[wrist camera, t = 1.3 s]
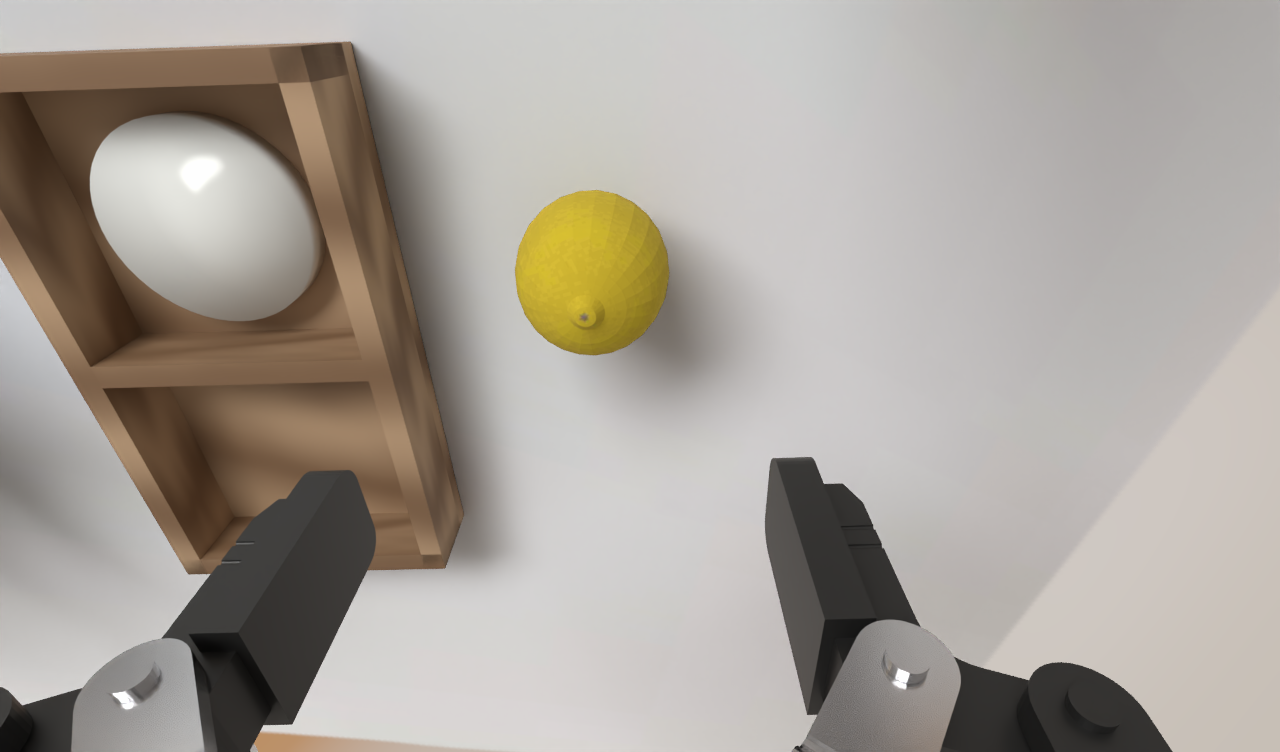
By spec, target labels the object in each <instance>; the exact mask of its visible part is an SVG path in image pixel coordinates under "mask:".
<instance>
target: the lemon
mask: <svg viewBox="0 0 1280 752" xmlns="http://www.w3.org/2000/svg"><path fill="white" fill-rule="evenodd" d="M515 276H516V285H517V293H518V297H519V300H520V302H521V305H522V308H523V310H524V313H525V315H526V317H527V318H528V320H529V321H530V322H531V324H532V325H533V327H534V328H535V330H536V331H537V332H538V333H539V334H541V335H542V336H543V337H544V338H545V339H546V340H547V341H549V342H550V343H552V344H554V345H556V346H557V347H559V348H561V349H563V350H566V351H570V352H573V353H576V354H583V355H600V354H606V353H612V352H614V351H617V350H619V349H621V348H624V347H626V346H628V345H629V344H631V343H632V342H633V341H635V340H636V339H638V338H639V337H640V336H642V335H643V333H644V332H645V331H646V330H647V328H648V327H649V326H650V325H651V324H652V322H653V321H654V320H655V318H656V317H657V314H658V312H659V310H660V308H661V306H662V304H663V302H664V299H665V296H666V291H667V285H668V279H669V266H668V256H667V250H666V248H665V245H664V242H663V240H662V237H661V234H660V232H659V230H658V229H657V227H656V226H655V224H654V223H653V222H652V220H651V219H650V217H649V216H648V215H647V214H646V213H645V212H644V211H643V210H642V209H640V208H639V207H638V206H637V205H636V204H634V203H633V202H632V201H630V200H627V199H625V198H623V197H621V196H619V195H617V194H614V193H609V192H604V191H599V190H592V191H578V192H575V193H572V194H569V195H566V196H563V197H561V198H559V199H557V200H556V201H554V202H553V203H551V204H550V205H548V206H547V207H545V208H544V209H543V210H542V211H541V212H540V213H539V214H538V215H537V216H536V218H535V219H534V220H533V221H532V222H531V223H530V225H529V226H528V228H527V230H526V232H525V235H524V237H523V239H522V241H521V243H520V245H519V249H518V255H517V261H516V267H515Z"/></svg>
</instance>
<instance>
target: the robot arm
mask: <svg viewBox="0 0 1280 752" xmlns="http://www.w3.org/2000/svg"><path fill="white" fill-rule="evenodd" d="M765 534H766V543H767V549H768V554H769V558H770V562H771V566H772V570H773V575H774V579H775V583H776V587H777V591H778V595H779V599H780V604H781V608H782V612H783V616H784V620H785V624H786V628H787V633H788V637H789V641H790V645H791V649H792V653H793V657H794V662H795V666H796V670H797V674H798V678H799V682H800V686H801V691H802V695H803V699H804V703H805V707H806V711H807V715H817V717H816V719H815V721H814V723H813V725H812V727H811V729H810V731H809V733H808V735H807V737H806V739H805V740H804V742H803V744H802V745H801V746H800V747H799V746H796V747H795V748H794V749H793V750H792V752H1172V750H1171V749H1170V747H1169V746H1168V744H1167V743H1166V741H1165V740H1164V738H1163V737H1162V735H1161V734H1160V732H1159V731H1158V729H1157V728H1156V726H1155V725H1154V723H1153V722H1152V720H1151V719H1150V717H1149V716H1148V714H1147V713H1146V712H1145V710H1144V709H1143V708H1142V706H1141V705H1140V704H1139V703H1138V702H1137V701H1136V700H1135V699H1134V697H1132V696H1131V695H1130V694H1129V693H1128V692H1127V691H1126V690H1125V689H1124V688H1122V687H1121V686H1119V685H1118V684H1117V683H1115V682H1114V681H1113V680H1111V679H1109V678H1107V677H1106V676H1104V675H1102V674H1100V673H1098V672H1096V671H1094V670H1092V669H1089V668H1086V667H1083V666H1080V665H1075V664H1071V663H1062V662H1061V663H1050V664H1046V665H1043V666H1042V667H1039V668H1038V669H1037V670H1036V671H1035V672H1034V673H1033V674H1032V676H1031V678H1030V680H1025V679H1022V678H1018V677H1014V676H1010V675H1006V674H1002V673H999V672H995V671H991V670H987V669H984V668H980V667H977V666H974V665H971V664H968V663H966V662H964V661H961V660H959V659H957V658H956V657H954V656H953V655H952V653H951V652H950V651H949V649H948V648H947V647H946V646H945V645H944V644H943V643H942V642H941V641H940V640H939V639H938V638H937V637H935V636H934V635H933V634H931V633H930V632H928V631H927V630H925V629H923V628H921V627H920V625H919V623H918V621H917V619H916V617H915V615H914V613H913V611H912V609H911V607H910V604H909V602H908V600H907V598H906V596H905V593H904V591H903V589H902V587H901V585H900V583H899V580H898V578H897V576H896V574H895V572H894V570H893V567H892V565H891V563H890V561H889V559H888V556H887V554H886V552H885V550H884V548H883V549H882V543H881V541H880V539H879V537H878V535H877V533H876V530H874V529H873V524H872V522H871V519H870V517H869V515H868V513H867V511H866V509H865V506H864V504H863V502H862V501H861V500H859V499H858V498H857V497H856V496H855V495H854V494H853V493H852V492H851V491H850V490H849V489H848V488H847V487H846V486H845V485H844V484H824V483H823V481H822V478H821V476H820V473H819V471H818V468H817V465H816V463H815V461H814V459H813V458H812V457H799V458H773V459H772V460H771V464H770V471H769V482H768V493H767V503H766V514H765ZM375 547H376V531H375V527H374V524H373V521H372V518H371V515H370V513H369V510H368V507H367V504H366V501H365V499H364V496H363V493H362V490H361V488H360V485H359V482H358V479H357V477H356V475H355V474H354V473H353V472H352V471H351V470H330V471H309V472H307V473H305V474H304V475H303V476H302V478H301V479H300V480H299V482H298V483H297V484H296V486H295V487H294V489H293V490H292V491H291V493H290V494H289V495H288V497H287V498H286V499H278V500H277V501H275V502H274V503H273V504H272V505H270V506H269V507H268V508H266V509H265V510H264V511H263V512H261V513H260V514H259V515H257V516H256V517H255V518H253V519H252V521H251V522H250V523H249V525H248V526H247V527H246V529H245V530H244V531H243V533H242V534H241V535H240V537H239V538H238V539H237V540H236V545H235V546H232V547H231V548H230V550H229V551H228V552H227V554H226V555H225V556H224V557H223V559H222V560H221V561H222V563H221V565H217V567H216V568H215V569H214V571H213V572H212V573H211V575H210V576H209V577H208V578H207V580H206V581H205V582H204V584H203V585H202V586H201V588H200V589H199V590H198V592H197V593H196V594H195V596H194V597H193V598H192V599H191V601H190V602H189V603H188V605H187V606H186V607H185V609H184V610H183V611H182V613H181V614H180V615H179V616H178V618H177V619H176V620H175V622H174V623H173V624H172V626H171V627H170V628H169V630H168V631H167V632H166V634H165V635H164V636H163V637H162V638H161V639H157V640H152V641H149V642H146V643H143V644H140V645H138V646H135V647H133V648H131V649H129V650H127V651H125V652H123V653H122V654H120V655H119V656H117V657H115V658H114V659H112V660H111V661H110V662H108V663H107V664H106V665H104V666H103V667H102V668H101V669H100V670H99V671H97V672H96V673H95V674H94V675H93V676H92V677H91V679H90V680H89V681H88V682H87V683H86V685H85V686H84V687H83V688H81V689H77V690H74V691H71V692H67V693H64V694H60V695H57V696H53V697H50V698H47V699H43V700H40V701H36V702H33V703H30V704H26V705H23V706H22V705H21V704H20V703H19V702H18V701H17V700H16V699H15V697H14V696H13V695H12V694H11V693H10V692H9V691H8V690H6V689H4V688H2V687H0V752H258V750H257V748H256V747H255V745H254V742H255V740H256V738H257V736H258V734H259V732H260V730H261V729H262V727H263V725H289V724H293V722H294V720H295V718H296V716H297V713H298V711H299V709H300V707H301V705H302V703H303V701H304V699H305V697H306V695H307V693H308V691H309V689H310V687H311V685H312V683H313V681H314V679H315V677H316V674H317V672H318V670H319V668H320V666H321V664H322V662H323V660H324V658H325V656H326V654H327V652H328V650H329V648H330V646H331V644H332V642H333V640H334V637H335V635H336V633H337V631H338V629H339V627H340V625H341V623H342V621H343V619H344V617H345V615H346V613H347V611H348V609H349V607H350V605H351V603H352V601H353V598H354V596H355V594H356V592H357V590H358V588H359V586H360V584H361V582H362V580H363V578H364V576H365V574H366V572H367V570H368V568H369V566H370V564H371V561H372V559H373V556H374V552H375Z"/></svg>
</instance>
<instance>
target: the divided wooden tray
mask: <svg viewBox="0 0 1280 752" xmlns="http://www.w3.org/2000/svg"><path fill="white" fill-rule="evenodd" d="M181 110H182V111H198V112H204V113H210V114H213V115H217V116H220V117H224V118H226V119H229V120H231V121H234V122H236V123H238V124H241V125H242V126H244V127H246V128H248V129H250V130H251V131H253V132H255V133H256V134H258V135H259V136H261V137H262V138H264V139H265V140H266V141H268V142H269V143H270V144H272V145H273V146H274V147H275V148H276V149H277V150H279V151H280V152H281V153H282V154H283V155H284V156H285V157H286V158H287V159H288V160H289V161H290V162H291V163H292V165H293V166H294V167H295V168H296V170H297V171H298V172H299V173H300V175H301V176H302V177H303V179H304V180H305V182H306V184H307V185H308V187H309V188H310V190H311V192H312V195H313V198H314V202H315V205H316V208H317V212H318V215H319V218H320V222H321V225H322V228H323V231H324V235H325V239H326V244H325V256H324V261H323V265H322V267H321V270H320V273H319V275H318V276H317V278H316V280H315V281H314V283H313V284H312V285H311V286H310V288H309V289H308V290H307V291H306V292H305V293H303V294H302V295H301V296H300V297H299V298H297V299H296V300H295V301H294V302H293V303H291V304H290V305H289V306H288V307H286V308H285V309H283V310H282V311H280V312H278V313H276V314H274V315H271V316H269V317H266V318H262V319H257V320H251V321H227V320H220V319H215V318H211V317H207V316H203V315H200V314H197V313H194V312H192V311H189V310H187V309H185V308H183V307H180V306H178V305H176V304H174V303H173V302H171V301H169V300H167V299H166V298H164V297H162V296H161V295H159V294H158V293H157V292H155V291H154V290H152V289H151V288H150V287H148V286H147V285H146V284H145V283H144V282H142V281H141V280H140V279H139V278H138V277H137V276H136V275H135V274H134V273H133V272H132V271H131V270H130V269H129V268H128V267H127V266H126V265H125V264H124V263H123V261H122V260H121V259H120V258H119V257H118V255H117V254H116V253H115V251H114V250H113V248H112V247H111V245H110V244H109V242H108V241H107V239H106V237H105V235H104V233H103V232H102V230H101V227H100V225H99V223H98V220H97V218H96V215H95V212H94V208H93V205H92V200H91V193H90V173H91V167H92V162H93V160H94V157H95V154H96V152H97V150H98V148H99V147H100V145H101V143H102V142H103V141H104V139H105V138H106V137H107V136H108V135H109V134H110V133H111V132H112V131H114V130H115V129H116V128H118V127H119V126H121V125H123V124H125V123H127V122H129V121H131V120H134V119H138V118H142V117H145V116H150V115H155V114H160V113H165V112H172V111H181ZM0 258H1V259H2V261H3V263H4V264H5V266H6V268H7V269H8V271H9V273H10V274H11V276H12V278H13V280H14V281H15V283H16V285H17V286H18V288H19V290H20V291H21V293H22V295H23V296H24V298H25V300H26V301H27V303H28V305H29V307H30V308H31V310H32V312H33V313H34V315H35V317H36V318H37V320H38V322H39V323H40V325H41V327H42V328H43V330H44V332H45V334H46V335H47V337H48V339H49V340H50V342H51V344H52V345H53V347H54V349H55V350H56V352H57V354H58V356H59V357H60V359H61V361H62V362H63V364H64V366H65V367H66V369H67V371H68V372H69V374H70V376H71V377H72V379H73V381H74V383H75V384H76V386H77V388H78V389H79V391H80V393H81V394H82V396H83V398H84V399H85V401H86V403H87V404H88V406H89V408H90V410H91V411H92V413H93V415H94V416H95V418H96V420H97V421H98V423H99V425H100V426H101V428H102V430H103V431H104V433H105V435H106V437H107V438H108V440H109V442H110V443H111V445H112V447H113V448H114V450H115V452H116V453H117V455H118V457H119V458H120V460H121V462H122V464H123V465H124V467H125V469H126V470H127V472H128V474H129V475H130V477H131V479H132V480H133V482H134V484H135V485H136V487H137V489H138V491H139V492H140V494H141V496H142V497H143V499H144V501H145V502H146V504H147V506H148V507H149V509H150V511H151V512H152V514H153V516H154V518H155V519H156V521H157V523H158V524H159V526H160V528H161V529H162V531H163V533H164V534H165V536H166V538H167V539H168V541H169V543H170V545H171V546H172V548H173V550H174V551H175V553H176V555H177V556H178V558H179V560H180V561H181V563H182V565H183V566H184V568H185V570H186V572H187V573H188V574H211V573H212V572H213V571H214V569H215V568H216V567H217V565H221V563H222V561H221V560H222V559H223V557H224V556H225V555H226V554H227V552H228V551H229V550H230V548H231V547H232V546H235V545H236V540H237V539H238V538H239V537H240V535H241V534H242V533H243V531H244V530H245V529H246V527H247V526H248V525H249V523H250V522H251V521H252V519H253V518H255V517H256V516H257V515H259V514H260V513H261V512H263V511H264V510H265V509H266V508H268V507H269V506H270V505H272V504H273V503H274V502H275V501H277V500H278V499H286V498H287V497H288V495H289V494H290V493H291V491H292V490H293V489H294V487H295V486H296V484H297V483H298V482H299V480H300V479H301V478H302V476H303V475H304V474H305V473H307V472H309V471H330V470H351V471H352V472H353V473H354V474H355V475H356V477H357V479H358V482H359V485H360V488H361V490H362V493H363V496H364V499H365V501H366V504H367V507H368V510H369V513H370V515H371V518H372V521H373V524H374V527H375V531H376V547H375V552H374V556H373V559H372V561H371V564H370V566H369V568H368V570H399V569H443V568H446V565H447V562H448V559H449V556H450V553H451V550H452V547H453V545H454V542H455V539H456V536H457V533H458V530H459V527H460V525H461V522H462V519H463V516H464V513H463V509H462V505H461V500H460V496H459V492H458V488H457V484H456V480H455V475H454V471H453V467H452V463H451V459H450V455H449V450H448V446H447V442H446V438H445V434H444V429H443V425H442V421H441V417H440V413H439V409H438V404H437V400H436V396H435V392H434V388H433V384H432V379H431V375H430V371H429V367H428V363H427V358H426V354H425V350H424V346H423V342H422V338H421V333H420V329H419V325H418V321H417V317H416V313H415V308H414V304H413V300H412V296H411V292H410V287H409V283H408V279H407V275H406V271H405V267H404V262H403V258H402V254H401V250H400V246H399V242H398V237H397V233H396V229H395V225H394V221H393V216H392V212H391V208H390V204H389V200H388V196H387V191H386V187H385V183H384V179H383V175H382V171H381V166H380V162H379V158H378V154H377V150H376V145H375V141H374V137H373V133H372V129H371V125H370V120H369V116H368V112H367V108H366V104H365V100H364V95H363V91H362V87H361V83H360V79H359V74H358V70H357V66H356V62H355V58H354V54H353V49H352V45H351V42H327V43H297V44H268V45H238V46H209V47H179V48H150V49H120V50H91V51H61V52H32V53H2V54H0Z"/></svg>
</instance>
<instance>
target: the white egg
mask: <svg viewBox="0 0 1280 752" xmlns="http://www.w3.org/2000/svg"><path fill="white" fill-rule="evenodd" d="M90 193H91V200H92V205H93V208H94V212H95V215H96V218H97V220H98V223H99V225H100V227H101V230H102V232H103V233H104V235H105V237H106V239H107V241H108V242H109V244H110V245H111V247H112V248H113V250H114V251H115V253H116V254H117V255H118V257H119V258H120V259H121V260H122V261H123V263H124V264H125V265H126V266H127V267H128V268H129V269H130V270H131V271H132V272H133V273H134V274H135V275H136V276H137V277H138V278H139V279H140V280H141V281H142V282H144V283H145V284H146V285H147V286H148V287H150V288H151V289H152V290H154V291H155V292H157V293H158V294H159V295H161V296H162V297H164V298H166V299H167V300H169V301H171V302H173V303H174V304H176V305H178V306H180V307H183V308H185V309H187V310H189V311H192V312H194V313H197V314H200V315H203V316H207V317H211V318H215V319H220V320H227V321H251V320H257V319H262V318H266V317H269V316H271V315H274V314H276V313H278V312H280V311H282V310H283V309H285V308H286V307H288V306H289V305H290V304H291V303H293V302H294V301H295V300H296V299H297V298H299V297H300V296H301V295H302V294H303V293H305V292H306V291H307V290H308V289H309V288H310V286H311V285H312V284H313V283H314V281H315V280H316V278H317V276H318V275H319V273H320V270H321V267H322V265H323V261H324V256H325V244H326V239H325V235H324V231H323V228H322V225H321V222H320V218H319V215H318V212H317V208H316V205H315V202H314V198H313V195H312V192H311V190H310V188H309V187H308V185H307V184H306V182H305V180H304V179H303V177H302V176H301V175H300V173H299V172H298V171H297V170H296V168H295V167H294V166H293V165H292V163H291V162H290V161H289V160H288V159H287V158H286V157H285V156H284V155H283V154H282V153H281V152H280V151H279V150H277V149H276V148H275V147H274V146H273V145H272V144H270V143H269V142H268V141H266V140H265V139H264V138H262V137H261V136H259V135H258V134H256V133H255V132H253V131H251V130H250V129H248V128H246V127H244V126H242V125H241V124H238V123H236V122H234V121H231V120H229V119H226V118H224V117H220V116H217V115H213V114H210V113H204V112H198V111H182V110H181V111H172V112H165V113H160V114H155V115H150V116H145V117H142V118H138V119H134V120H131V121H129V122H127V123H125V124H123V125H121V126H119V127H118V128H116V129H115V130H114V131H112V132H111V133H110V134H109V135H108V136H107V137H106V138H105V139H104V141H103V142H102V143H101V145H100V147H99V148H98V150H97V152H96V154H95V157H94V160H93V162H92V167H91V173H90Z"/></svg>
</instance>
